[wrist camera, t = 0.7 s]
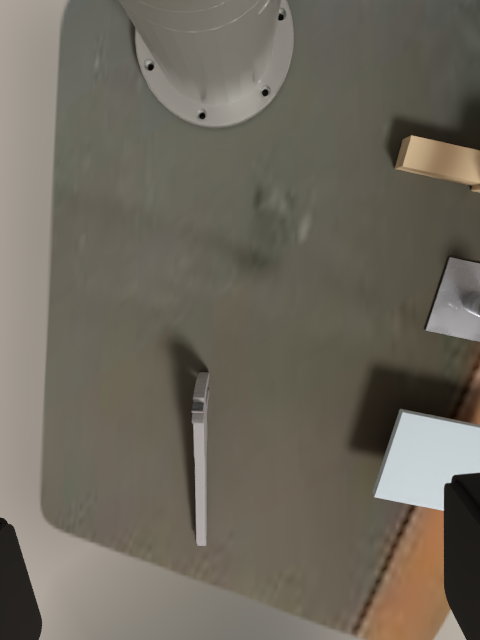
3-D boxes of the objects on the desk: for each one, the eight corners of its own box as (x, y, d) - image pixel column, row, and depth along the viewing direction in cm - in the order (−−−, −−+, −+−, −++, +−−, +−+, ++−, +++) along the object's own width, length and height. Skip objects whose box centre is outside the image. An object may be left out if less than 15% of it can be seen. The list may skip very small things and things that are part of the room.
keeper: (388, 393, 42) (402, 412, 38) (495, 415, 42) (520, 435, 38) (363, 472, 44) (374, 497, 40) (465, 492, 44) (485, 518, 40)
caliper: (199, 369, 42) (190, 396, 36) (210, 369, 42) (203, 396, 36) (197, 542, 47) (189, 591, 41) (207, 542, 47) (201, 591, 41)
